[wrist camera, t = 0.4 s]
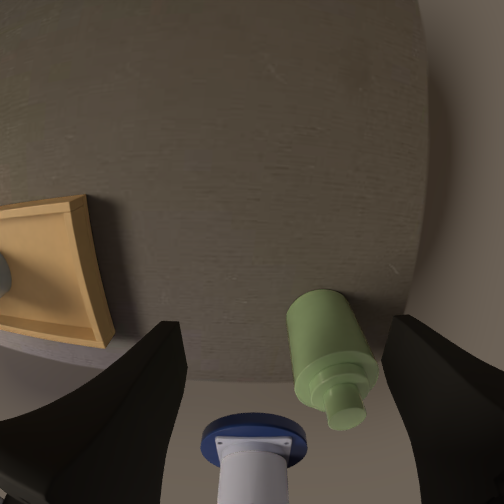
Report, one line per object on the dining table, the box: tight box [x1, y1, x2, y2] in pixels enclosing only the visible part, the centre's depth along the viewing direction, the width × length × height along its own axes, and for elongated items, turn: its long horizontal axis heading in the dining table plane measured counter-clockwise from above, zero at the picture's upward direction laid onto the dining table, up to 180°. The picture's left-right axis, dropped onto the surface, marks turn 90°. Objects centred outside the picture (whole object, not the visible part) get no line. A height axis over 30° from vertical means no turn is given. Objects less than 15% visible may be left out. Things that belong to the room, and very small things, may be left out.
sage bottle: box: [286, 289, 379, 430], centre depth 15 cm, size 4×4×8 cm
